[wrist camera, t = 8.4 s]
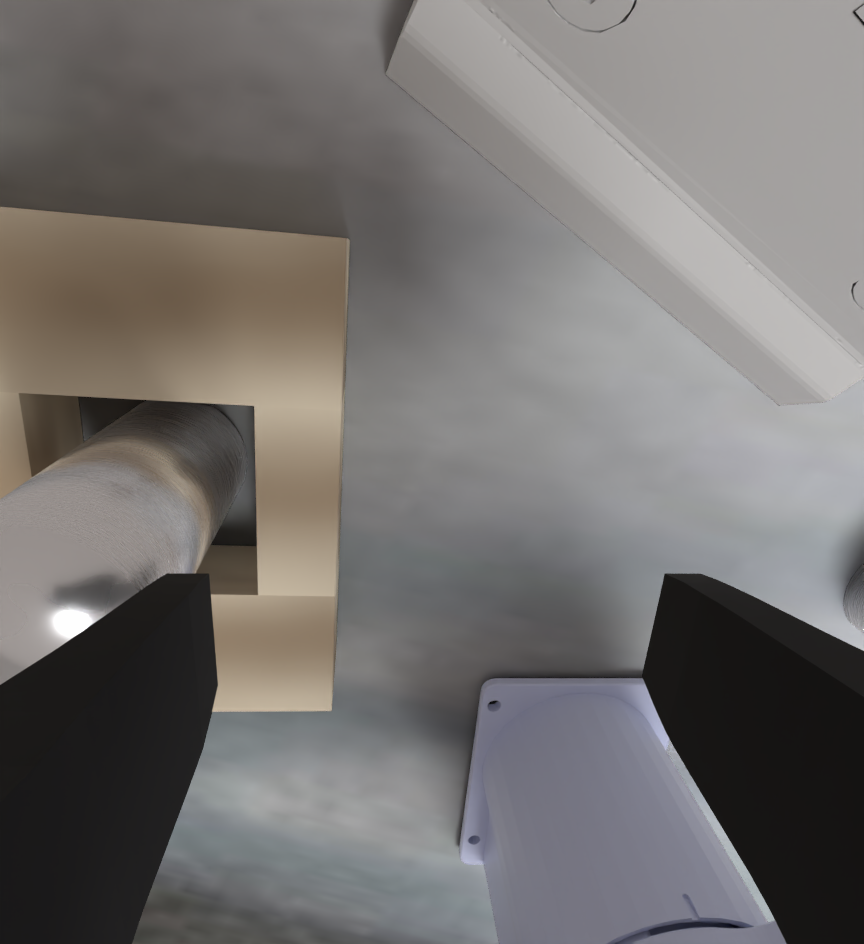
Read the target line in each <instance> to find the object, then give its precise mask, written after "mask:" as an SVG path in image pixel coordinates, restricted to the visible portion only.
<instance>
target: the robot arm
mask: <svg viewBox="0 0 864 944" xmlns="http://www.w3.org/2000/svg"><path fill="white" fill-rule="evenodd" d="M217 687H218V679H217V666H216V653H215V641H214V628H213V616H212V603H211V591H210V578H209V573H167V574H165V575H163V576H162V577H160V578H158V579H157V580H155V581H154V582H152V583H151V584H149V585H148V586H146V587H145V588H143V589H142V590H140V591H139V592H138V593H136V594H135V595H133V596H132V597H131V598H129V599H128V600H126V601H125V602H123V603H122V604H121V605H119V606H118V607H116V608H115V609H114V610H112V611H111V612H109V613H108V614H106V615H105V616H104V617H102V618H101V619H99V620H98V621H96V622H95V623H93V624H92V625H91V626H89V627H88V628H86V629H85V630H83V631H82V632H80V633H79V634H78V635H76V636H75V637H73V638H72V639H70V640H69V641H67V642H66V643H65V644H63V645H62V646H60V647H59V648H57V649H56V650H54V651H53V652H51V653H49V654H48V655H46V656H45V657H43V658H42V659H40V660H38V661H37V662H35V663H34V664H32V665H31V666H29V667H27V668H26V669H24V670H23V671H21V672H19V673H18V674H16V675H15V676H13V677H12V678H10V679H8V680H7V681H5V682H4V683H2V684H1V685H0V944H132V942H133V939H134V936H135V933H136V930H137V927H138V924H139V921H140V918H141V915H142V912H143V909H144V906H145V904H146V901H147V898H148V896H149V893H150V890H151V888H152V885H153V882H154V880H155V877H156V874H157V872H158V869H159V866H160V863H161V861H162V858H163V855H164V853H165V850H166V847H167V845H168V842H169V839H170V837H171V834H172V831H173V829H174V826H175V823H176V821H177V818H178V815H179V813H180V810H181V807H182V805H183V802H184V799H185V797H186V794H187V791H188V788H189V786H190V783H191V780H192V778H193V775H194V772H195V769H196V767H197V764H198V761H199V758H200V756H201V753H202V750H203V746H204V742H205V738H206V734H207V730H208V726H209V722H210V718H211V714H212V709H213V705H214V701H215V696H216V692H217ZM494 700H496V701H498V702H496V703H495V704H488V703H490V702H491V701H494ZM669 740H670V741H671V742H672V744H673V746H674V748H675V749H676V751H677V753H678V754H679V756H680V758H681V760H682V761H683V763H684V765H685V766H686V768H687V770H688V771H689V773H690V775H691V777H692V778H693V780H694V782H695V783H696V785H697V787H698V788H699V790H700V792H701V793H702V795H703V797H704V798H705V800H706V802H707V803H708V805H709V806H710V808H711V810H712V811H713V813H714V815H715V816H716V818H717V820H718V821H719V823H720V825H721V826H722V828H723V830H724V831H725V833H726V835H727V836H728V838H729V840H730V841H731V843H732V845H733V846H734V848H735V850H736V851H737V853H738V855H739V856H740V858H741V860H742V861H743V863H744V865H745V866H746V868H747V870H748V871H749V873H750V875H751V876H752V878H753V880H754V882H755V884H756V885H757V887H758V889H759V891H760V893H761V894H762V896H763V898H764V900H765V902H766V903H767V905H768V907H769V909H770V911H771V913H772V915H773V917H774V919H775V921H772V922H769V923H768V921H767V919H766V918H765V916H764V914H763V913H762V911H761V909H760V908H759V906H758V904H757V902H756V901H755V899H754V897H753V896H752V894H751V892H750V891H749V889H748V887H747V886H746V884H745V882H744V881H743V879H742V877H741V876H740V874H739V872H738V871H737V869H736V867H735V866H734V864H733V862H732V861H731V859H730V857H729V856H728V854H727V852H726V850H725V849H724V847H723V845H722V844H721V842H720V840H719V839H718V837H717V835H716V834H715V832H714V830H713V829H712V827H711V825H710V824H709V822H708V820H707V819H706V817H705V815H704V814H703V812H702V810H701V809H700V807H699V805H698V803H697V802H696V800H695V798H694V797H693V795H692V793H691V792H690V790H689V788H688V787H687V785H686V783H685V782H684V780H683V778H682V777H681V775H680V773H679V772H678V770H677V768H676V767H675V765H674V763H673V762H672V760H671V758H670V756H669V755H668V753H667V747H668V744H669ZM459 853H460V860H461V861H462V862H463V863H465V864H470V865H472V864H484V867H485V873H486V878H487V883H488V889H489V894H490V899H491V904H492V910H493V915H494V920H495V925H496V931H497V936H498V941H499V944H864V651H863V650H860V649H858V648H856V647H854V646H852V645H850V644H848V643H846V642H844V641H842V640H840V639H838V638H836V637H834V636H832V635H830V634H828V633H825V632H823V631H821V630H819V629H817V628H815V627H813V626H811V625H809V624H807V623H805V622H803V621H801V620H799V619H797V618H795V617H793V616H791V615H789V614H787V613H785V612H783V611H781V610H779V609H777V608H775V607H773V606H771V605H769V604H767V603H765V602H763V601H761V600H759V599H757V598H755V597H753V596H751V595H749V594H747V593H745V592H743V591H740V590H738V589H736V588H734V587H732V586H730V585H727V584H725V583H723V582H721V581H718V580H716V579H713V578H711V577H708V576H705V575H702V574H665V576H664V580H663V585H662V589H661V594H660V598H659V602H658V607H657V611H656V616H655V620H654V625H653V629H652V634H651V638H650V643H649V647H648V651H647V656H646V660H645V665H644V669H643V674H642V678H494V679H490V680H488V681H486V682H485V683H484V684H483V685H482V688H481V693H480V700H479V708H478V715H477V722H476V729H475V737H474V744H473V751H472V759H471V766H470V773H469V780H468V788H467V795H466V802H465V810H464V817H463V824H462V831H461V839H460V846H459Z"/></svg>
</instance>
